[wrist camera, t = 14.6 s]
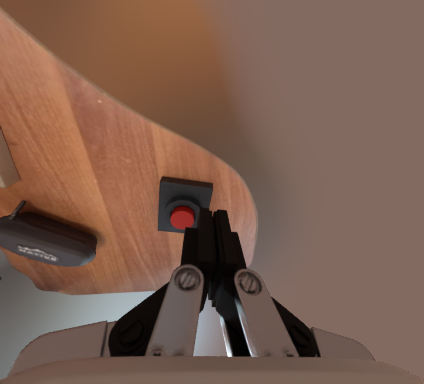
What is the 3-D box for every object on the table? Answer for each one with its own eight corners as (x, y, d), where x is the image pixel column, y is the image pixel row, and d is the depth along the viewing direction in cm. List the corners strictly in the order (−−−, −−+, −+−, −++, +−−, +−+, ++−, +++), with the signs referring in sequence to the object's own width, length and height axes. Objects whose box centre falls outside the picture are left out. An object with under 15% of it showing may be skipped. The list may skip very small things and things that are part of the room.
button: (172, 204, 33) (171, 209, 32) (195, 207, 34) (195, 212, 32) (171, 222, 35) (169, 228, 34) (192, 224, 36) (192, 230, 34)
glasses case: (8, 234, 38) (-32, 253, 30) (29, 192, 37) (-6, 200, 30) (94, 262, 43) (79, 283, 36) (114, 225, 43) (102, 239, 35)
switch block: (162, 176, 34) (157, 185, 31) (212, 183, 35) (213, 193, 32) (159, 224, 40) (155, 236, 36) (203, 228, 41) (203, 241, 38)
